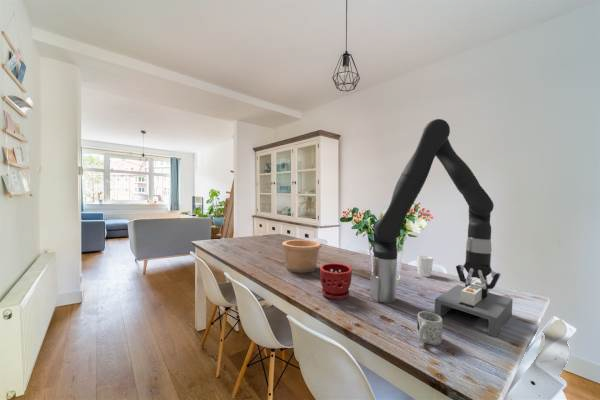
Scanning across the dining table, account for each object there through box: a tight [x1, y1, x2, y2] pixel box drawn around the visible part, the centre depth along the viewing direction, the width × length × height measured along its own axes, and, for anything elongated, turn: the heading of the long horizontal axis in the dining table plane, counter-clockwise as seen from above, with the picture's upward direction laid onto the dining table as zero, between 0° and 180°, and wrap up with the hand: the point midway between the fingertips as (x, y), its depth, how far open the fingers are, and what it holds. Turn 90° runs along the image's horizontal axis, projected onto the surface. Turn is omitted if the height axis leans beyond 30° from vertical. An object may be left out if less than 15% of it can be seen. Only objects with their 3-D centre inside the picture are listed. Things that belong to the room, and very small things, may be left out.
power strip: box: [461, 278, 491, 308], centre depth 95 cm, size 20×4×7 cm, turn 131°
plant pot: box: [319, 262, 353, 300], centre depth 108 cm, size 13×13×12 cm
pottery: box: [281, 239, 322, 274], centre depth 145 cm, size 22×22×14 cm
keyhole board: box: [433, 284, 514, 338], centre depth 94 cm, size 24×18×6 cm
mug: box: [416, 311, 443, 346], centre depth 76 cm, size 10×7×7 cm, turn 133°
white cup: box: [416, 254, 434, 278], centre depth 140 cm, size 8×8×10 cm
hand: (475, 296), depth 95 cm, fingers closed on power strip, 4 cm apart
